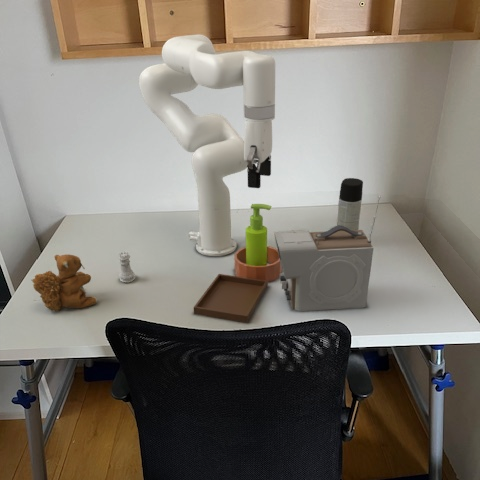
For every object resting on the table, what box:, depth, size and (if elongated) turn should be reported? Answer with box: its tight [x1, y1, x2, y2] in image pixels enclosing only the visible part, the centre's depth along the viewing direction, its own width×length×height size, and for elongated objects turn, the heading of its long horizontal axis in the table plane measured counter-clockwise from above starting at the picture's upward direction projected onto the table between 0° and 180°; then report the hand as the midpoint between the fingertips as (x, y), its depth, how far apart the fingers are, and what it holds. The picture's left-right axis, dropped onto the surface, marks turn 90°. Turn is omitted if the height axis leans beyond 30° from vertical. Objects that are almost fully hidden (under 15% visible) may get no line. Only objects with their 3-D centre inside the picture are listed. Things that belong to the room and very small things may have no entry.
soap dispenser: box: [245, 203, 272, 266], centre depth 148 cm, size 6×7×20 cm
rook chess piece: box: [117, 251, 136, 284], centre depth 149 cm, size 4×4×8 cm
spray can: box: [336, 177, 364, 230], centre depth 162 cm, size 7×7×20 cm
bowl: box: [233, 245, 283, 283], centre depth 152 cm, size 13×13×5 cm
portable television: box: [273, 195, 381, 312], centre depth 131 cm, size 12×24×30 cm, turn 94°
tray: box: [193, 273, 269, 324], centre depth 140 cm, size 14×18×2 cm
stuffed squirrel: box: [31, 254, 98, 312], centre depth 137 cm, size 10×14×13 cm
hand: (259, 181), depth 139 cm, fingers open, 9 cm apart
